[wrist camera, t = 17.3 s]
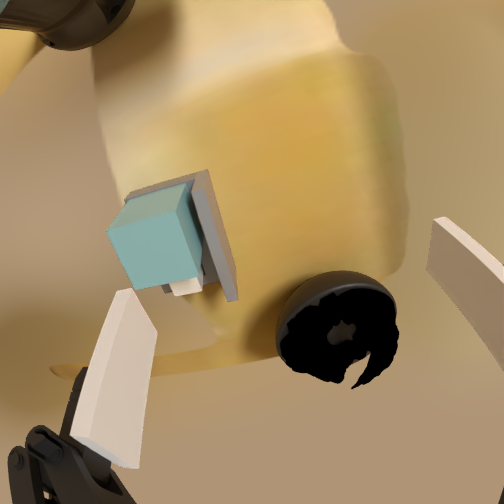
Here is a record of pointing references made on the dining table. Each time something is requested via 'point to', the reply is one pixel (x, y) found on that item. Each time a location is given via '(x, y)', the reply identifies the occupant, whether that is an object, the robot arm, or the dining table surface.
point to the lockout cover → (158, 238)
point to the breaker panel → (205, 231)
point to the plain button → (188, 285)
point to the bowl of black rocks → (338, 326)
